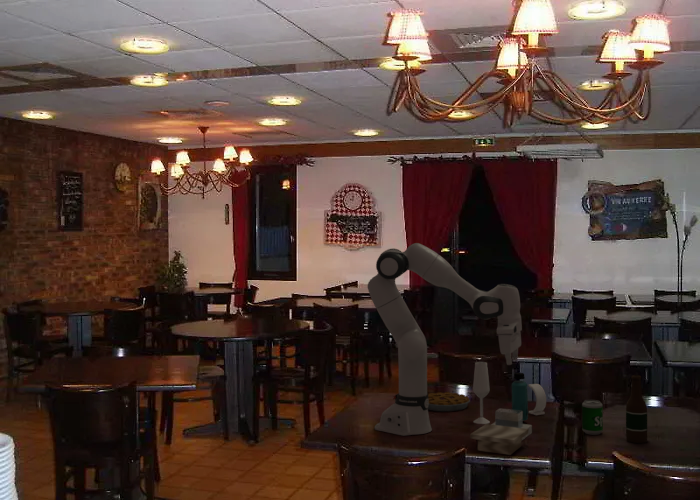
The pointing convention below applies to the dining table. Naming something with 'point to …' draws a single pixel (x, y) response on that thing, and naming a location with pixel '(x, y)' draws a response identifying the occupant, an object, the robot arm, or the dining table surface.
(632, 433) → the beer bottle
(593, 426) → the soda can
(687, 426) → the dining table surface
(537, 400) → the headphone stand
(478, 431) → the serving riser
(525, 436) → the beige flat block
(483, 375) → the champagne flute
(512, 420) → the block
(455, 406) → the pie
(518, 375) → the beverage bottle
